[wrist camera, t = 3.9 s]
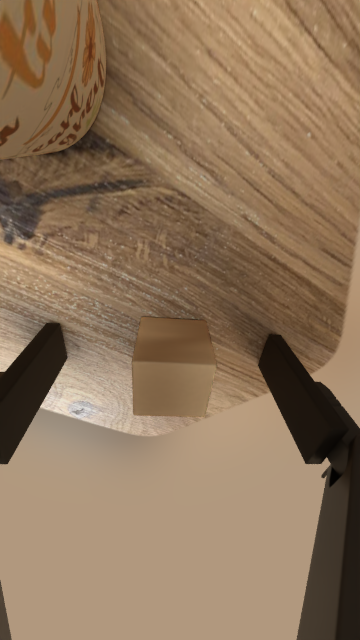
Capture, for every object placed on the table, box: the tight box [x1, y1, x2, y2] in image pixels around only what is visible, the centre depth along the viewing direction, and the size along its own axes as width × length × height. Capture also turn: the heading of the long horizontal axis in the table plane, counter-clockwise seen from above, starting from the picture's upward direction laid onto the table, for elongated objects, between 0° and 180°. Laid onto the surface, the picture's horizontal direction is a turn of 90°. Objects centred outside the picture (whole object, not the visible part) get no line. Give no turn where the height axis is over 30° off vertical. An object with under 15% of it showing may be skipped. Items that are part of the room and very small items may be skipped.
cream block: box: [132, 317, 217, 417], centre depth 13 cm, size 4×4×4 cm
